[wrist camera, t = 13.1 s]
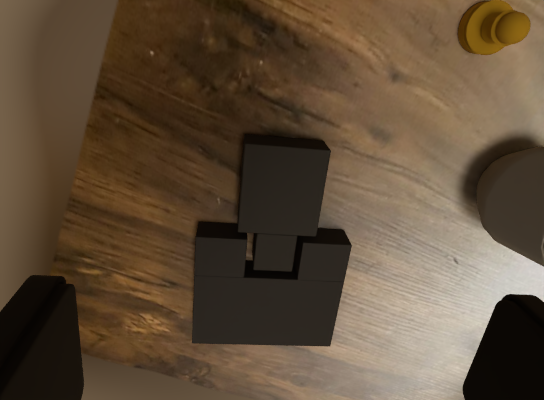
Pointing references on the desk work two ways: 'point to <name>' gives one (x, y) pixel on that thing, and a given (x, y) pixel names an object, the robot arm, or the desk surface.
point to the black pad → (280, 195)
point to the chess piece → (491, 27)
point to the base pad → (266, 290)
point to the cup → (515, 202)
